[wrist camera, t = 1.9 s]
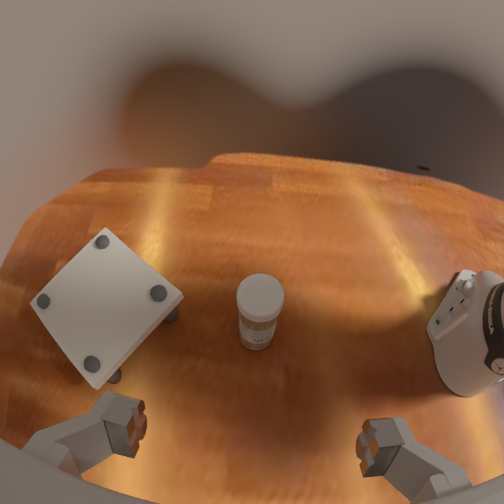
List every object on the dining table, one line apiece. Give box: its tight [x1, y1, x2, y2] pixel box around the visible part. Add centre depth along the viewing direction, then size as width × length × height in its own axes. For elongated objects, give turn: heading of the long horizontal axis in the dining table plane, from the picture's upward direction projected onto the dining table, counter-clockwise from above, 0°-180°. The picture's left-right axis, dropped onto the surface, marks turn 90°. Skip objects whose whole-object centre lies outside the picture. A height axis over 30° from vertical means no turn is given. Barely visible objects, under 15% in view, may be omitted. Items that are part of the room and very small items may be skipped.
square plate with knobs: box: [30, 227, 184, 390], centre depth 38 cm, size 16×16×7 cm
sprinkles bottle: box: [237, 274, 284, 350], centre depth 35 cm, size 5×5×13 cm
